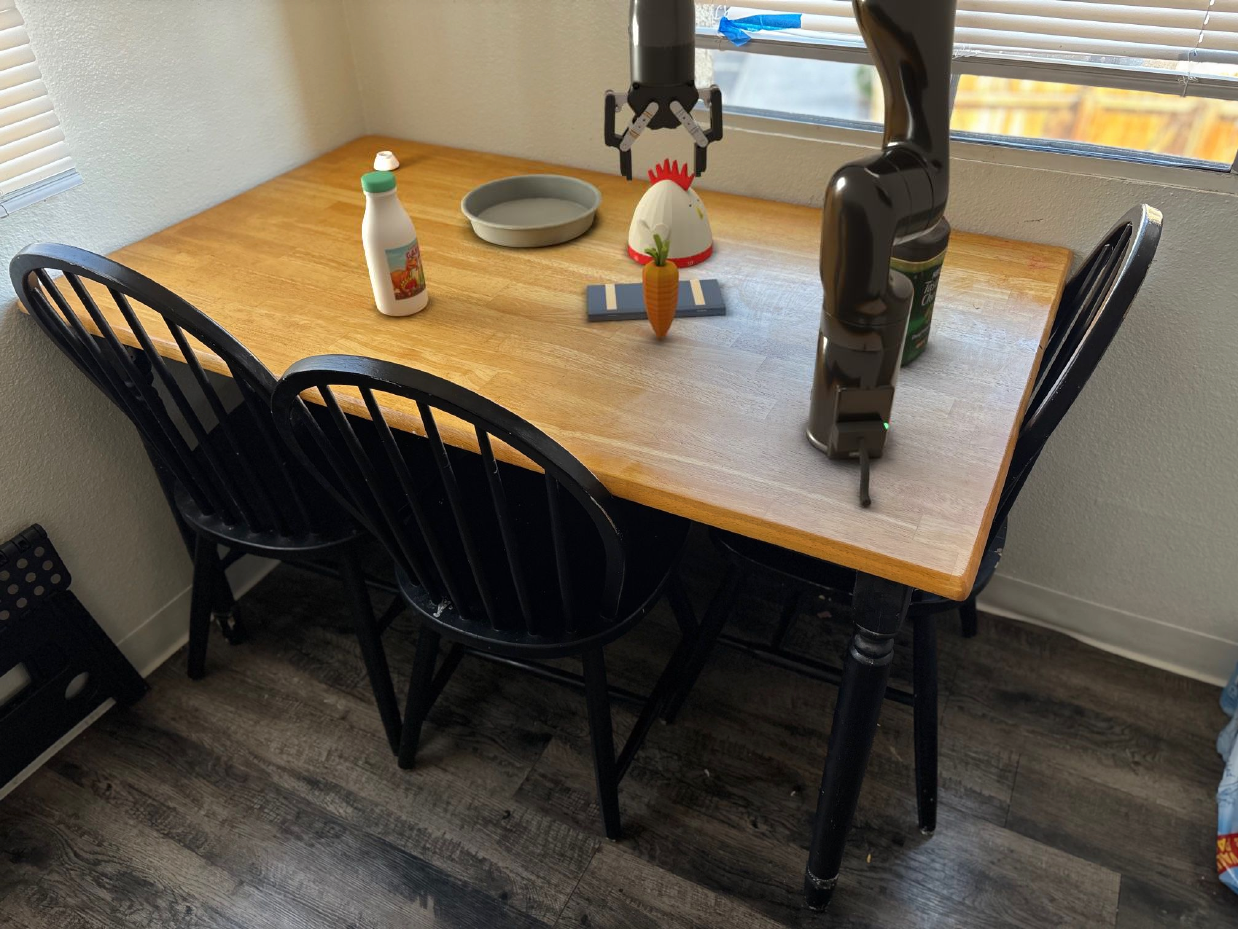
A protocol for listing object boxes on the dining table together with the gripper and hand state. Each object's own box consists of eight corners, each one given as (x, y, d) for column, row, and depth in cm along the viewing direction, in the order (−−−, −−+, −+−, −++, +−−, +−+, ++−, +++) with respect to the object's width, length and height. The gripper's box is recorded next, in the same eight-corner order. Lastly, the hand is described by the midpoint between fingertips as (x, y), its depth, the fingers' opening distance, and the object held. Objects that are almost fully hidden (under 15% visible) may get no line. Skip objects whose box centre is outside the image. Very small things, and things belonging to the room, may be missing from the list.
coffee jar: (902, 373, 117) (928, 239, 106) (848, 354, 121) (867, 222, 110) (936, 343, 123) (963, 212, 111) (883, 326, 127) (904, 198, 115)
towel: (725, 314, 131) (726, 307, 130) (588, 321, 131) (588, 314, 130) (716, 283, 139) (717, 276, 138) (587, 290, 139) (586, 282, 138)
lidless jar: (403, 164, 186) (382, 162, 187) (401, 150, 184) (379, 148, 185) (391, 173, 182) (370, 171, 183) (388, 158, 180) (367, 156, 182)
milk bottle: (379, 321, 133) (349, 188, 121) (375, 298, 139) (347, 169, 127) (431, 313, 134) (407, 181, 122) (426, 290, 140) (403, 162, 128)
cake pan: (550, 263, 146) (548, 237, 144) (435, 235, 157) (431, 210, 154) (628, 210, 163) (628, 186, 160) (519, 188, 173) (517, 164, 170)
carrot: (675, 348, 124) (676, 246, 115) (640, 346, 125) (638, 244, 116) (681, 330, 128) (681, 230, 118) (646, 328, 129) (644, 228, 119)
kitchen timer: (686, 275, 142) (687, 181, 132) (612, 257, 148) (609, 166, 138) (726, 242, 151) (730, 152, 141) (655, 226, 157) (655, 139, 148)
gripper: (600, 47, 99) (607, 191, 109) (729, 40, 99) (724, 184, 109) (598, 31, 105) (605, 169, 115) (720, 25, 105) (716, 163, 115)
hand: (663, 176), depth 112 cm, fingers open, 8 cm apart
